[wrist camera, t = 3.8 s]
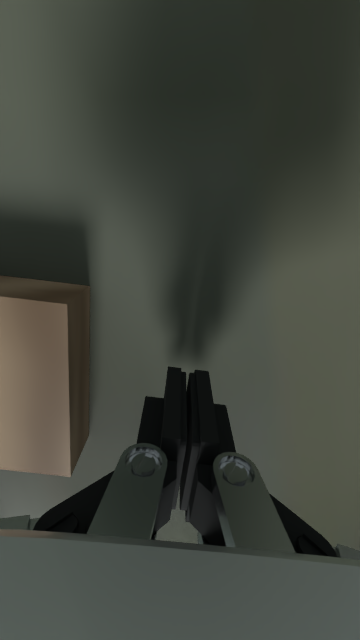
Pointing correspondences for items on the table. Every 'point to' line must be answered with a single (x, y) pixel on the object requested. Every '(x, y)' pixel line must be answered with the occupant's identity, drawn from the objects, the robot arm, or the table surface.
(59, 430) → the panel
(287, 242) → the table surface
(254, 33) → the table surface
